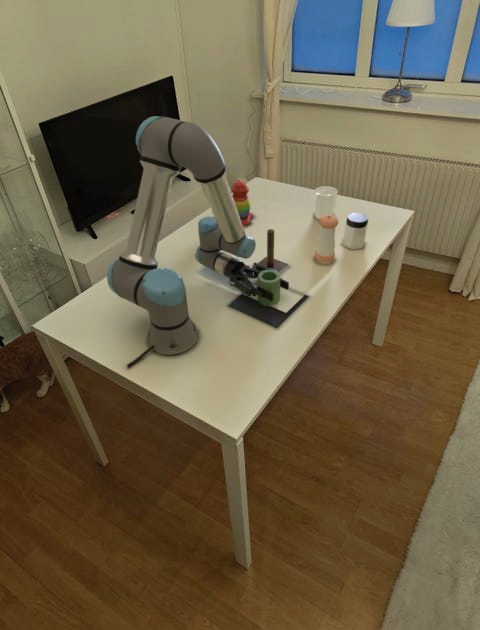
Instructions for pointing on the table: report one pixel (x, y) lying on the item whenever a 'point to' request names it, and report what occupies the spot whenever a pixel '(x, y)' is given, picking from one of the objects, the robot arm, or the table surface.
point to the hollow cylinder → (269, 286)
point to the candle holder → (325, 201)
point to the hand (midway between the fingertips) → (280, 291)
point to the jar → (355, 230)
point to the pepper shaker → (326, 239)
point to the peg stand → (271, 254)
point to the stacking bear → (242, 202)
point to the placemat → (263, 310)
